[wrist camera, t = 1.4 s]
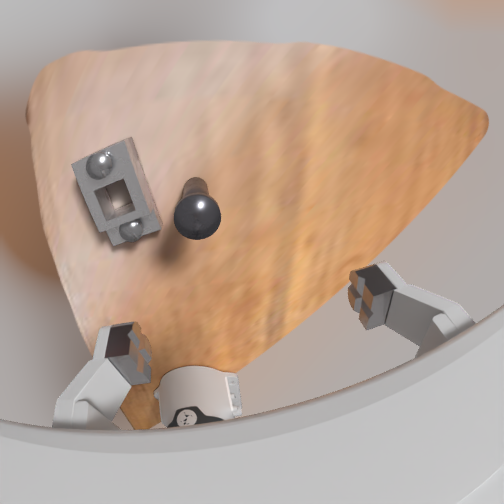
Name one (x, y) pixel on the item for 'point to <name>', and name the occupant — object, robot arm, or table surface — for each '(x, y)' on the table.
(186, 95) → the table surface
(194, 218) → the pin
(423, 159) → the table surface
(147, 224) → the slotted ball-knob block
